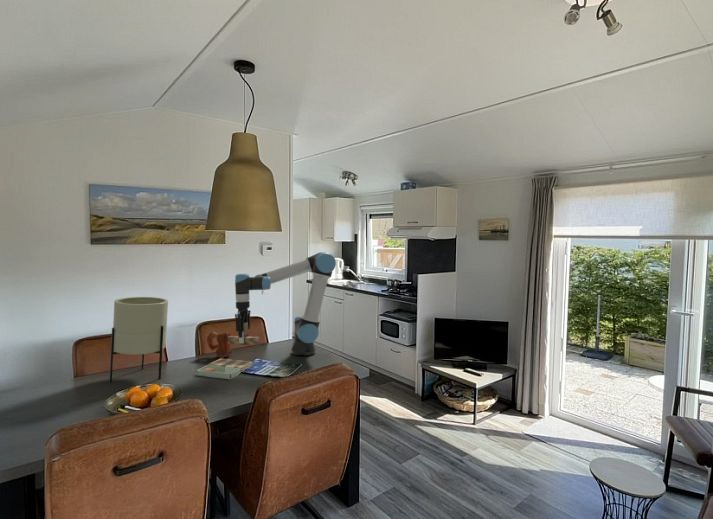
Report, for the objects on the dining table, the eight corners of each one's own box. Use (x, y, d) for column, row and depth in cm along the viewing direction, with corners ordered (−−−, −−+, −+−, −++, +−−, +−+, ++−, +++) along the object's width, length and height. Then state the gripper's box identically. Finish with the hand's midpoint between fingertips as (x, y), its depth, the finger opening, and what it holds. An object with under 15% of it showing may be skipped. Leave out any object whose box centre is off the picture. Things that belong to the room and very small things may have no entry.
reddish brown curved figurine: (233, 355, 240) (234, 330, 239) (228, 359, 232) (228, 333, 231) (210, 354, 241) (211, 329, 241) (204, 358, 233) (204, 332, 233)
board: (252, 367, 217) (252, 361, 217) (241, 373, 207) (241, 367, 207) (220, 363, 222) (220, 358, 222) (208, 369, 212) (208, 363, 212)
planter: (142, 389, 184) (147, 306, 183) (98, 381, 189) (102, 301, 187) (175, 373, 207) (179, 299, 206) (135, 367, 212) (138, 295, 210)
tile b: (210, 370, 203) (210, 374, 203) (215, 368, 207) (215, 371, 207) (203, 369, 204) (203, 373, 204) (208, 367, 208) (208, 371, 208)
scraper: (259, 343, 225) (258, 322, 224) (256, 345, 221) (255, 324, 220) (231, 342, 229) (230, 321, 228) (227, 344, 225) (226, 323, 225)
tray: (241, 373, 206) (241, 368, 206) (230, 379, 197) (230, 374, 197) (208, 369, 211) (208, 364, 211) (196, 375, 202) (196, 370, 202)
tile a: (234, 365, 205) (232, 366, 203) (234, 373, 205) (232, 374, 203) (227, 365, 206) (225, 366, 204) (227, 372, 206) (225, 373, 204)
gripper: (244, 298, 233) (245, 338, 234) (228, 303, 216) (229, 345, 217) (255, 299, 231) (256, 338, 232) (240, 303, 215) (241, 346, 216)
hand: (243, 341), depth 225 cm, fingers closed on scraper, 4 cm apart
